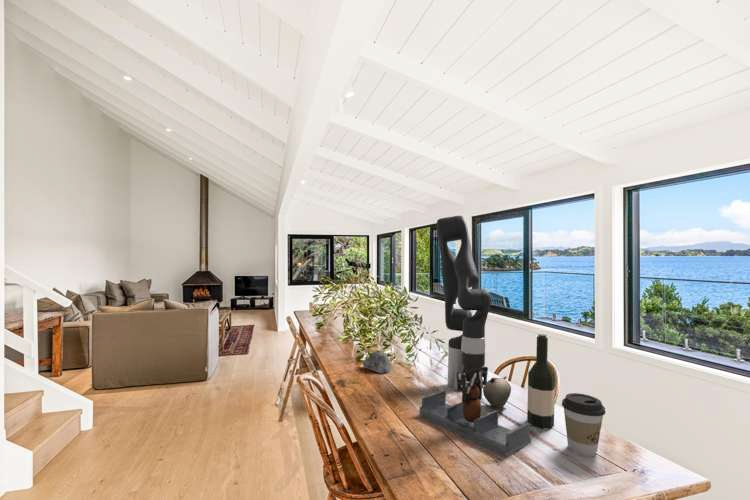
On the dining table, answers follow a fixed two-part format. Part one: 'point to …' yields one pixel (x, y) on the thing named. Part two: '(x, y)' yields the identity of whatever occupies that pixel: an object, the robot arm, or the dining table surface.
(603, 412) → the coffee cup
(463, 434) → the grey shelf
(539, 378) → the wine bottle
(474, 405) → the wooden figurine
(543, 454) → the dining table surface
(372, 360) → the mineral rock
